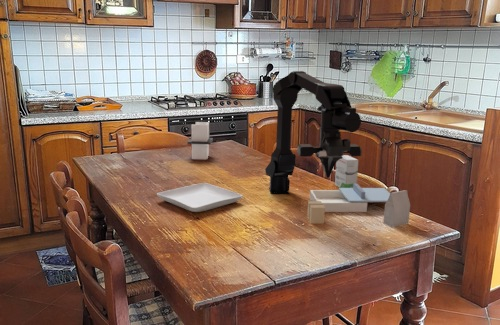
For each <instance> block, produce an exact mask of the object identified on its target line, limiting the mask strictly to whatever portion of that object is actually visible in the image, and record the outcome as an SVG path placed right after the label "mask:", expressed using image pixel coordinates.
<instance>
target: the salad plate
mask: <svg viewBox="0 0 500 325" xmlns="http://www.w3.org/2000/svg"><path fill="white" fill-rule="evenodd" d="M156 195H157V197H158V198H160V199H161V200H163V201H165V202H168V203H170V204H171V205H175V206H177V207H179V208H182V209H185V210H187V211H188V212H193V213H201V212H206V211H209V210H213V209H217V208H220V207H223V206H226V205H229V204H233V203H236V202H238V201H239V200H241V199H242V198H243V196H244V195H243V194H241V193H238V192H235V191H232V190H230V189H226V188H223V187H220V186H217V185H214V184H211V183H207V182H201V183H200V182H199V183H195V184H190V185H186V186H181V187H177V188H176V187H175V188H173V189H168V190H164V191H159V192H157V193H156Z"/></svg>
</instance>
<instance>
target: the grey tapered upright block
mask: <svg viewBox="0 0 500 325" xmlns="http://www.w3.org/2000/svg"><path fill="white" fill-rule="evenodd" d="M389 193H390V196H389V198H388V200H387V202H385V204H384V213H383V221H382V222H383V224H385V225H387V226H389V227H392V228H395V227H398V226H404V225H407V224H409V220H410V210H411V202H410V199H409V195H408V190H407V189H405V190H399V191H394V192H389ZM406 223H407V224H406Z"/></svg>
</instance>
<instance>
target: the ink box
mask: <svg viewBox="0 0 500 325" xmlns="http://www.w3.org/2000/svg"><path fill="white" fill-rule="evenodd" d="M342 157H343V158H342V159H339V160H338V161H337V162H336V164H335V176H334V177H335V178H334V186H335V187H337V188H338V189H339V188H353V183H356V184H358V173H359V171H358V169H359V159H357V158H355V157H354V156H351V155H348V154H343V156H342Z"/></svg>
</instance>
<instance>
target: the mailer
mask: <svg viewBox="0 0 500 325" xmlns="http://www.w3.org/2000/svg"><path fill="white" fill-rule="evenodd" d="M309 199H310V201H321V202H322V204H323V205H324V207H325V213H367V212H368V202H349V201H348V200H347V199H346V197H345V196H344V195H343V194H342V192H341V191H340V190H339V189H310V190H309Z"/></svg>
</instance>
